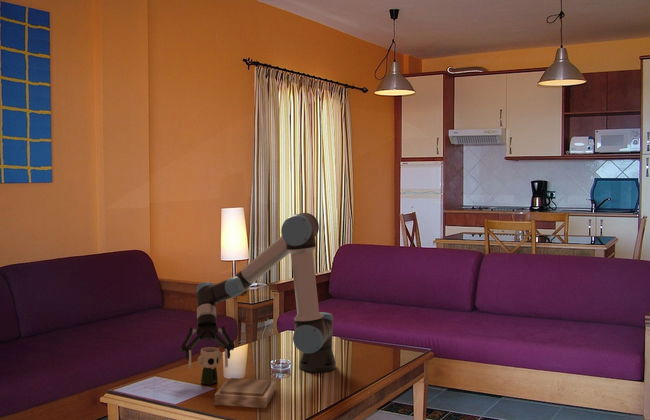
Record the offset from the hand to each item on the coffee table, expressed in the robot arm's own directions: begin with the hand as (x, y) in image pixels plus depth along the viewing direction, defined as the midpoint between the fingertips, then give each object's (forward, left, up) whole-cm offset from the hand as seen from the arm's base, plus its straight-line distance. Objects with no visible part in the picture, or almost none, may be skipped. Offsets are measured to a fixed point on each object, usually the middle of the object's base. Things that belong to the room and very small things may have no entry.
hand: (208, 366), depth 254 cm
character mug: (0, -1, -7) cm, 7 cm away
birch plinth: (-17, +12, -7) cm, 22 cm away
